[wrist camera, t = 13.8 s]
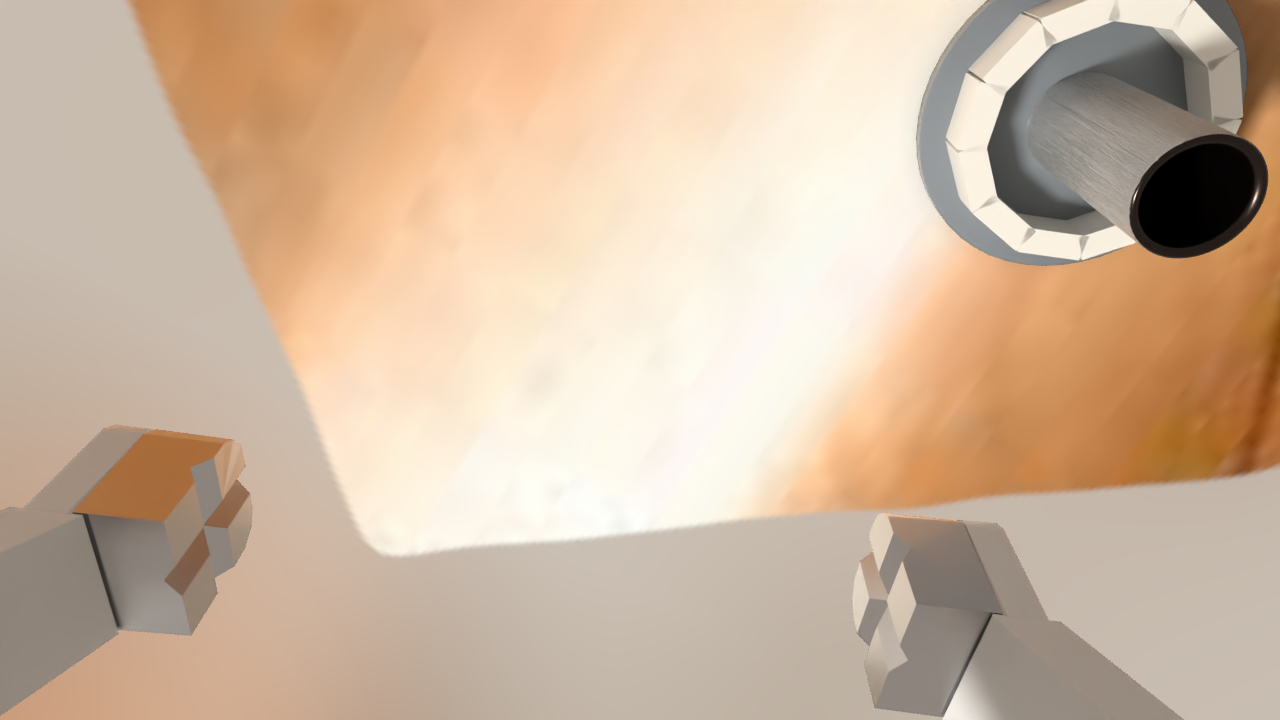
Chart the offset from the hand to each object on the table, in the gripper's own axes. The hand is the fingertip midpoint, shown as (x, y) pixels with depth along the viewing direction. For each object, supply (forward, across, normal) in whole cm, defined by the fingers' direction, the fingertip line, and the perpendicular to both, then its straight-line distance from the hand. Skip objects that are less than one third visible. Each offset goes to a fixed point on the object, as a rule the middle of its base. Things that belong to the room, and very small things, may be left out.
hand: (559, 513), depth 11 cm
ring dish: (+31, -20, +1) cm, 37 cm away
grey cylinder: (+31, -20, +1) cm, 37 cm away
